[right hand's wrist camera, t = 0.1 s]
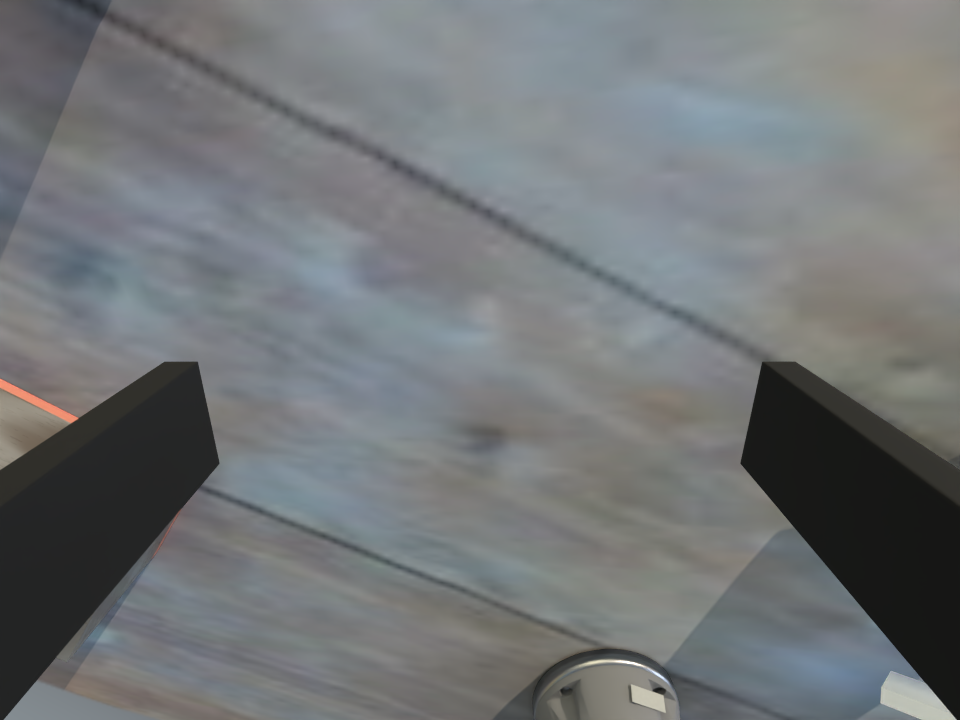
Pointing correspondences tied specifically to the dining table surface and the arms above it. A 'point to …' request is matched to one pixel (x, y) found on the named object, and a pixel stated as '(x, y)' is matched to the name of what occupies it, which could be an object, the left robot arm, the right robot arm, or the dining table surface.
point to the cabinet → (19, 428)
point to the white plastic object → (913, 698)
